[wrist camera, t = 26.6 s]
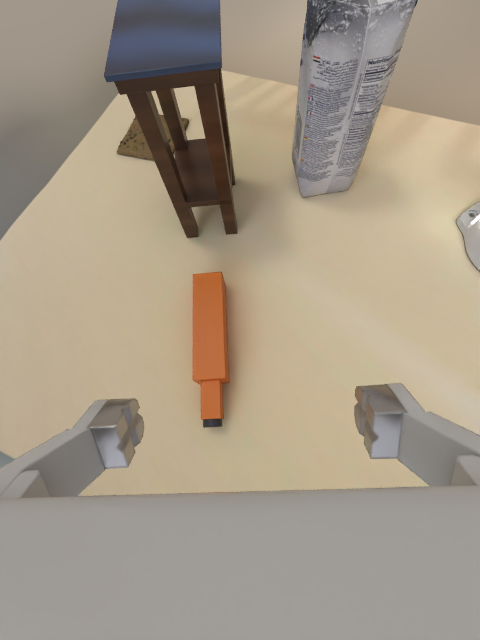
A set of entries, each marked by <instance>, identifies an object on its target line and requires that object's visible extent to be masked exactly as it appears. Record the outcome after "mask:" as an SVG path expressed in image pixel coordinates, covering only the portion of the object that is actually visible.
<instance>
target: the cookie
mask: <svg viewBox="0 0 480 640" xmlns="http://www.w3.org/2000/svg"><path fill="white" fill-rule="evenodd" d="M159 116H160V119H161V122H162V125H163V127H164V130H165V133H166V136H167V139H168V142H169V145H170V148H171V151H172V154H173V152H174V150H175V147H174V144H173V141H172V138H171V135H170V132H169V129H168V126H167V123H166V120H165V117H164V115H159ZM182 122H183V126H184V129H185V128H186V126H187V125H188V123H189V120H188V119H186V118H182ZM117 154H121V155H126V156H133V157H138V158H144V159H149V160H154V158H153V156H152V153H151V151H150V148H149V146H148V144H147V141H146V139H145V137H144V134H143V132H142V129H141V127H140V125H139V122H138V120H137V118H136V116H135V119H134V121H133V123H132V124H131V126H130V128H129V130H128V132H127V134H126V135H125V137H124V138H123V140H122V141H121V142H120V146H119V148H118V150H117Z"/></svg>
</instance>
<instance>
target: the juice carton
mask: <svg viewBox="0 0 480 640" xmlns="http://www.w3.org/2000/svg"><path fill="white" fill-rule="evenodd" d="M416 4H417V0H308V1H307V13H306V19H305V25H304V34H303V42H302V52H301V63H300V74H299V85H298V96H297V106H296V117H295V128H294V139H293V152H292V160H293V165H294V169H295V173H296V176H297V180H298V184H299V188H300V192H301V195H302V197H309V196H315V195H319V194H325V193H332V192H340V191H345V190H348V189H349V188H350V186H351V184H352V182H353V180H354V178H355V176H356V173H357V171H358V169H359V166H360V163H361V161H362V158H363V155H364V152H365V150H366V147H367V144H368V141H369V138H370V135H371V133H372V130H373V127H374V124H375V121H376V118H377V116H378V113H379V110H380V107H381V104H382V101H383V98H384V96H385V93H386V90H387V87H388V84H389V82H390V78H391V76H392V73H393V70H394V67H395V65H396V62H397V59H398V56H399V53H400V50H401V47H402V44H403V41H404V38H405V35H406V32H407V29H408V26H409V22H410V20H411V17H412V13H413V10H414V8H415V6H416Z"/></svg>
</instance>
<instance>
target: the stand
mask: <svg viewBox="0 0 480 640" xmlns="http://www.w3.org/2000/svg"><path fill="white" fill-rule="evenodd" d="M220 25H221V24H220V0H118V2H117V8H116V13H115V19H114V24H113V29H112V35H111V40H110V46H109V51H108V57H107V62H106V67H105V73H104V77H105V79H106V81H107V82H115V85H116V87H117V89H118V91H119V94H120V95H122V94H127V96H128V99H129V101H130V103H131V106H132V108H133V110H134V113H135V115H136V118H137V120H138V122H139V125H140V127H141V129H142V132H143V134H144V137H145V139H146V141H147V144H148V146H149V148H150V151H151V153H152V156H153V158H154V160H155V163H156V165H157V168H158V170H159V172H160V175H161V177H162V179H163V182H164V184H165V187H166V189H167V191H168V194H169V196H170V198H171V201H172V203H173V206H174V208H175V210H176V213H177V215H178V217H179V220H180V222H181V225H182V227H183V229H184V232H185V234H186V236H187V238H191V237H198V226H197V223H196V220H195V217H194V214H193V212H192V209H191V207H198V206H208V205H219V204H220V208H221V213H222V218H223V222H224V227H225V232H226V234H237V222H236V215H235V209H234V202H233V195H232V185H235V175H234V167H233V159H232V151H231V143H230V136H229V128H228V120H227V112H226V105H225V97H224V89H223V81H222V73H221V68H222V60H221V59H222V58H221V26H220ZM188 86H195V90H196V95H197V100H198V105H199V109H200V114H201V119H202V123H203V128H204V133H205V139H196V140H187V136H186V133H185V129H184V126H183V122H182V118H181V115H180V111H179V108H178V104H177V100H176V97H175V93H174V89H173V88H180V87H188ZM155 90H156V93H157V96H158V99H159V102H160V105H161V108H162V111H163V114H164V117H165V120H166V123H167V126H168V129H169V132H170V135H171V138H172V141H173V144H174V147H175V150H176V151H175V159H174V156H173V154H172V151H171V148H170V145H169V142H168V139H167V136H166V133H165V130H164V127H163V125H162V122H161V119H160V116H159V113H158V110H157V107H156V104H155V101H154V98H153V96H152V93H151V91H155Z"/></svg>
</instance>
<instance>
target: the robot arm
mask: <svg viewBox="0 0 480 640" xmlns="http://www.w3.org/2000/svg"><path fill="white" fill-rule="evenodd" d="M470 216H471V217H470ZM456 223H457V225H458V227H459V229H460V230H461V232H462V233H463V235H464V241H465V248H466V251H467V254H468V256H469V258H470V260H471V261H472V263H473V264H474V265H475V267H476V268H477V269H478V270H479V271H480V201H478V202H477V203H476V204H474V205H473V206H472V207H470V208H469V209H468V210H466V211H465V212H464V213H462V214H461V215H460V216H459V217H458V218H457V219H456ZM355 397H356V399H357V401H358V403H357V404H356V405H355V406H354V416H355V423H356V426H357V429H358V431H359V433H360V434H361V435H363V436H364V445H365V447H366V449H367V451H368V453H369V456H370V458H371V459H389V458H398V460H399V461H400V462H401V463H403V464H404V465H405V466H406V467H407V468H409V469H410V470H411V471H412V472H414V473H415V474H416V475H417V476H418V477H420V478H421V479H422V480H423V481H424V482H426V483H427V484H428V485H429V487H395V488H360V489H322V490H284V491H248V492H214V493H179V494H142V495H105V496H77V495H78V494H79V493H81V492H82V491H83V490H84V489H85V488H86V487H87V486H88V485H89V484H90V483H91V482H93V481H94V480H95V479H96V478H97V477H98V476H99V475H100V474H101V473H102V472H103V471H105V469H110V468H125V467H129V465H130V463H131V460H132V458H133V456H134V454H135V449H134V447H135V446H137V445H138V444H139V443H140V442H141V440H142V437H143V433H144V421H143V417H142V416H141V415H139V414H138V413H137V412H138V410H139V408H140V407H139V404H138V400H136V399H135V398H132V399H110V400H109V399H105V400H97V401H94V402H93V404H92V405H91V406H90V407H89V409H88V410H87V411H86V412H85V413H84V415H83V416H82V417H81V418H80V419H79V421H78V422H77V423H76V424H75V426H74V427H73V428H72V429H67V430H65V431H64V432H62V433H60V434H58V435H57V436H55V437H53V438H51V439H50V440H48V441H46V442H44V443H43V444H41V445H39V446H37V447H36V448H34V449H32V450H31V451H29V452H27V453H25V454H24V455H22V456H20V457H18V458H17V459H15V460H13V461H12V462H10V463H8V464H6V465H5V466H3V467H1V468H0V640H480V435H478V434H476V433H474V432H472V431H469V430H467V429H465V428H463V427H461V426H459V425H457V424H455V423H453V422H451V421H449V420H447V419H444V418H442V417H440V416H438V415H436V414H434V413H432V412H425V410H424V409H423V408H422V407H421V406H420V404H419V403H418V402H417V401H416V400H415V398H414V397H413V396H412V395H411V393H410V392H409V391H408V390H407V389H406V387H405V386H404V385H403V384H402V383H391V384H384V385H369V386H356V389H355Z"/></svg>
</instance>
